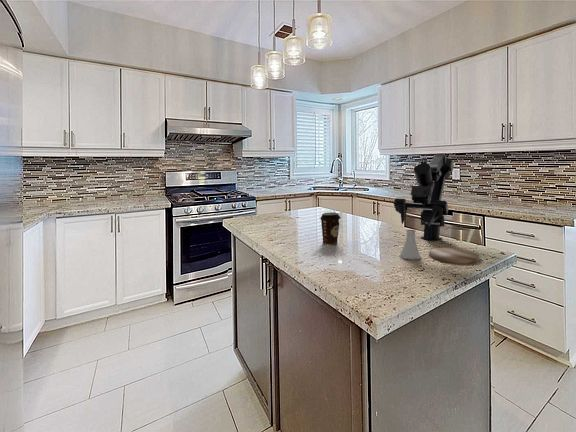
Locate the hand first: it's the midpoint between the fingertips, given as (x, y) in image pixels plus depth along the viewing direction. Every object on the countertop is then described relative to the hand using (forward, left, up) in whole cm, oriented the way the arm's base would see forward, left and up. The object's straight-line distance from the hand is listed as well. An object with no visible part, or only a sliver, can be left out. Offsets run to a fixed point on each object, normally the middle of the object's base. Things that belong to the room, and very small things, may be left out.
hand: (414, 224), depth 115 cm
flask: (+4, +2, -12) cm, 13 cm away
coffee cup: (+16, -30, -12) cm, 36 cm away
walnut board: (-9, +10, -11) cm, 18 cm away
